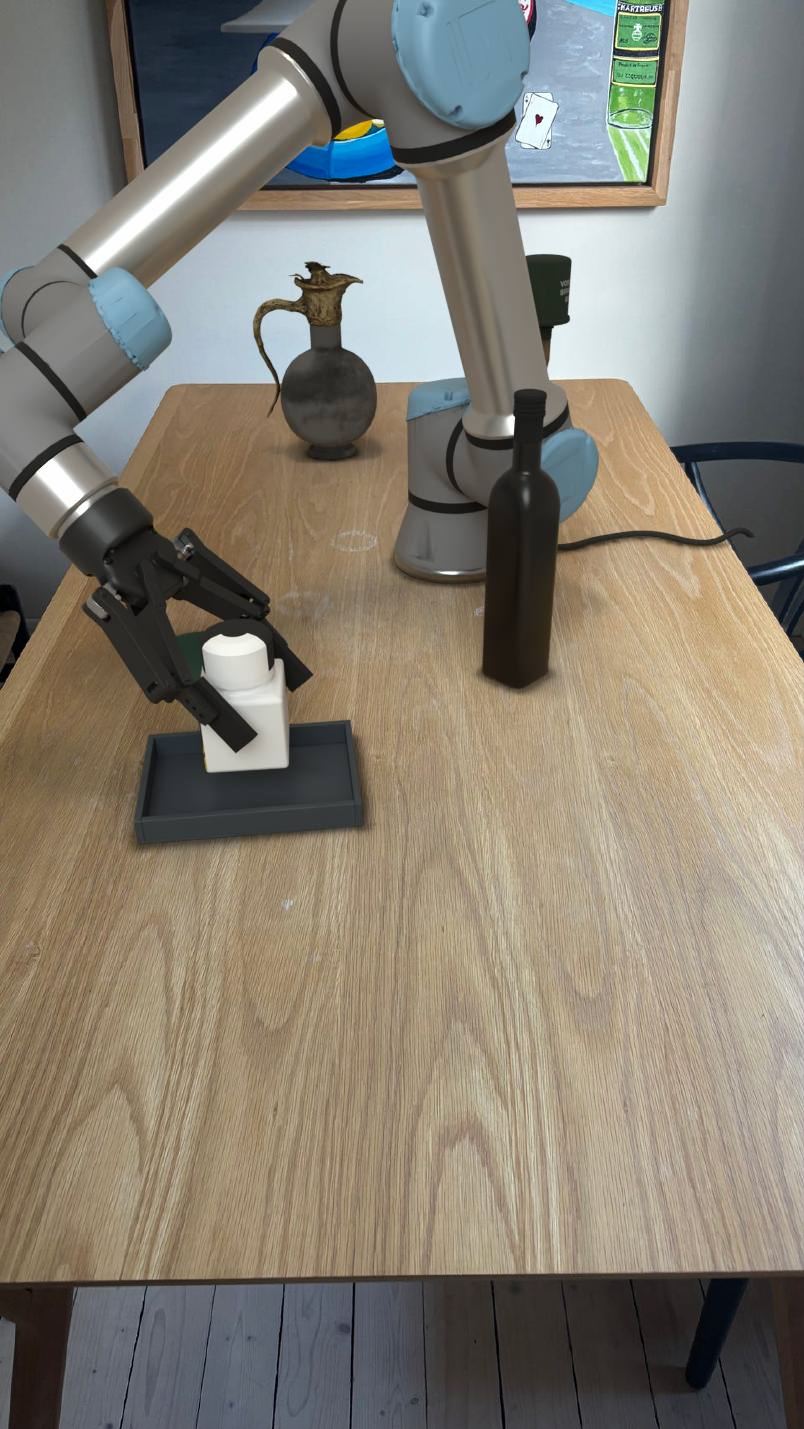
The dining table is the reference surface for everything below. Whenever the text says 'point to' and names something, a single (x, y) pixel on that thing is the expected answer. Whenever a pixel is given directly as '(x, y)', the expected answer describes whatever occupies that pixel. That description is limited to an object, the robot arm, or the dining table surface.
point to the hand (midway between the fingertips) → (276, 712)
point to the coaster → (192, 652)
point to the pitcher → (322, 370)
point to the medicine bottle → (246, 695)
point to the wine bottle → (521, 555)
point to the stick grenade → (550, 293)
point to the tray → (248, 788)
